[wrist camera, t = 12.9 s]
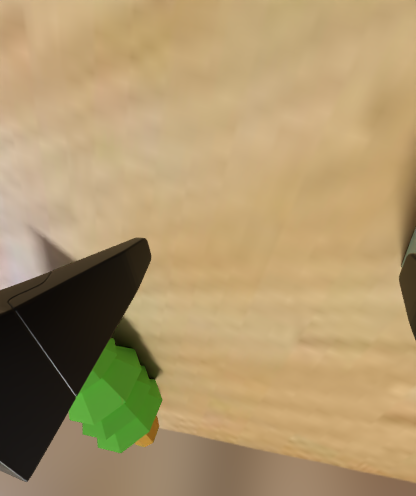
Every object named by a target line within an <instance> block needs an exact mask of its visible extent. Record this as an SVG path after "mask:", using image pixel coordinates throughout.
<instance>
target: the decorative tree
mask: <svg viewBox="0 0 416 496" xmlns="http://www.w3.org/2000/svg"><path fill="white" fill-rule="evenodd" d="M161 402H162V398H161V395H160V392H159V389H158V387H157V384H156V381H155V380H153V379H149V377H148V374H147V371H146V368H145V366H140V363H139V360H138V357H137V354H136V351H135V349H131V348H126V347H120V346H115V341H114V339H113V338H110V340H109V341H108V343H107V345H106V347H105V348H104V350H103V352H102V354H101V355H100V357H99V359H98V361H97V362H96V364H95V366H94V368H93V369H92V371H91V373H90V375H89V376H88V378H87V380H86V382H85V383H84V385H83V387H82V389H81V390H80V392H79V394H78V396H77V397H76V399H75V401H74V403H73V405H72V406H71V408H70V410H69V417H70V420H72V421H77V422H81V423H83V434H84V435H88V436H92V437H97V443H98V448H103V449H106V450H110V451H114V452H118V453H122V452H123V451H124V450H126V449H127V448H128V447H130V446H131V445H132V444H134V443H135V444H136V445H139V446H142V447H146V446H148V445H150V444H152V443H153V442H154V439H155V436H156V434H157V431H158V428H159V423H158V418H157V416H156V415H157V412H158V410H159V407H160V405H161Z"/></svg>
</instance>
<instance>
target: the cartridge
mask: <svg viewBox="0 0 416 496" xmlns="http://www.w3.org/2000/svg"><path fill="white" fill-rule="evenodd" d="M410 253H416V228H415V230H414V233H413V236H412V239H411V241H410V244H409V247H408V250H407V252H406V255H405V258H404V261H403V263H402V266H401V267H403V264H404V262H405V259H406V257H407V255H408V254H410Z"/></svg>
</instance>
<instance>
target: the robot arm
mask: <svg viewBox="0 0 416 496" xmlns="http://www.w3.org/2000/svg"><path fill="white" fill-rule="evenodd" d="M150 261H151V253H150V249H149V245H148V242H147V240H146V239H145V238H134V239H131V240H129V241H126V242H124V243H121V244H119V245H116V246H114V247H111V248H108V249H106V250H103V251H101V252H98V253H96V254H93V255H91V256H88V257H86V258H83V259H81V260H78V261H76V262H73V263H71V264H68V265H66V266H63V267H61V268H58V269H56V270H53V271H50V272H48V273H45V274H43V275H40V276H38V277H35V278H32V279H30V280H27V281H25V282H22V283H19V284H16V285H14V286H11V287H8V288H5V289H2V290H0V471H2V472H5V473H7V474H9V475H11V476H13V477H16V478H18V479H20V480H22V481H25V482H27V481H28V480H29V478H30V477H31V476H32V474H33V473H34V471H35V469H36V467H37V466H38V464H39V462H40V460H41V459H42V457H43V455H44V453H45V452H46V450H47V448H48V446H49V445H50V443H51V441H52V440H53V438H54V436H55V434H56V433H57V431H58V429H59V427H60V426H61V424H62V422H63V420H64V419H65V417H66V415H67V413H68V412H69V410H70V408H71V406H72V405H73V403H74V401H75V399H76V397H77V396H78V394H79V392H80V390H81V389H82V387H83V385H84V383H85V382H86V380H87V378H88V376H89V375H90V373H91V371H92V369H93V368H94V366H95V364H96V362H97V361H98V359H99V357H100V355H101V354H102V352H103V350H104V348H105V347H106V345H107V343H108V341H109V340H110V338H111V336H112V334H113V333H114V331H115V329H116V328H117V326H118V324H119V322H120V321H121V319H122V317H123V315H124V314H125V312H126V310H127V308H128V307H129V305H130V303H131V301H132V300H133V298H134V296H135V294H136V292H137V291H138V288H139V286H140V284H141V282H142V280H143V277H144V275H145V273H146V270H147V268H148V266H149V264H150ZM399 282H400V287H401V291H402V295H403V299H404V303H405V308H406V312H407V316H408V320H409V323H410V326H411V329H412V332H413V335H414V337H415V340H416V253H410V254H408V255H407V257H406V259H405V262H404V264H403V267H402V270H401V272H400V276H399Z"/></svg>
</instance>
